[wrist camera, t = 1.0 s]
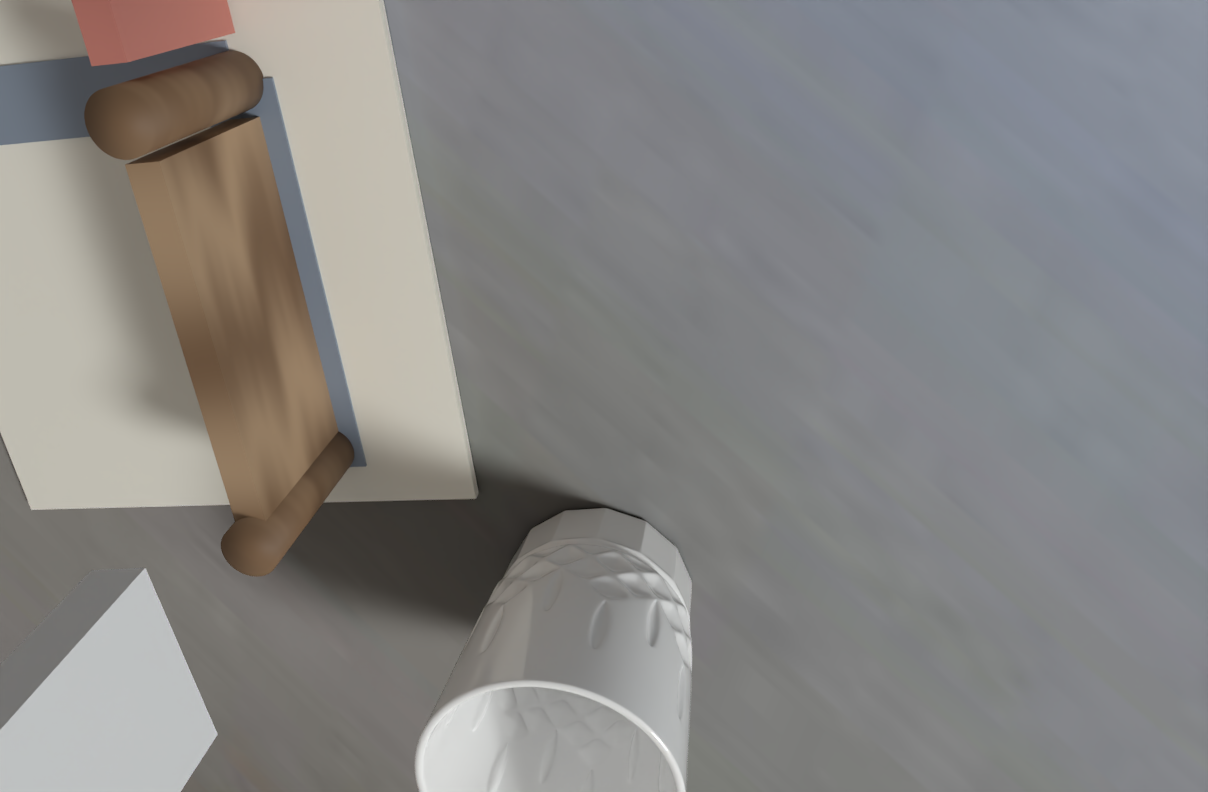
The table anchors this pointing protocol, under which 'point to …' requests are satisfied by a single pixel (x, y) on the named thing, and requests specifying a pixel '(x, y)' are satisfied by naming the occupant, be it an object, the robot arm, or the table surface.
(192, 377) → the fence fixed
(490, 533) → the table surface
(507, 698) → the white cup
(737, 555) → the table surface
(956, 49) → the table surface
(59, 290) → the board
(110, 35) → the fence gate
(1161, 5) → the table surface
